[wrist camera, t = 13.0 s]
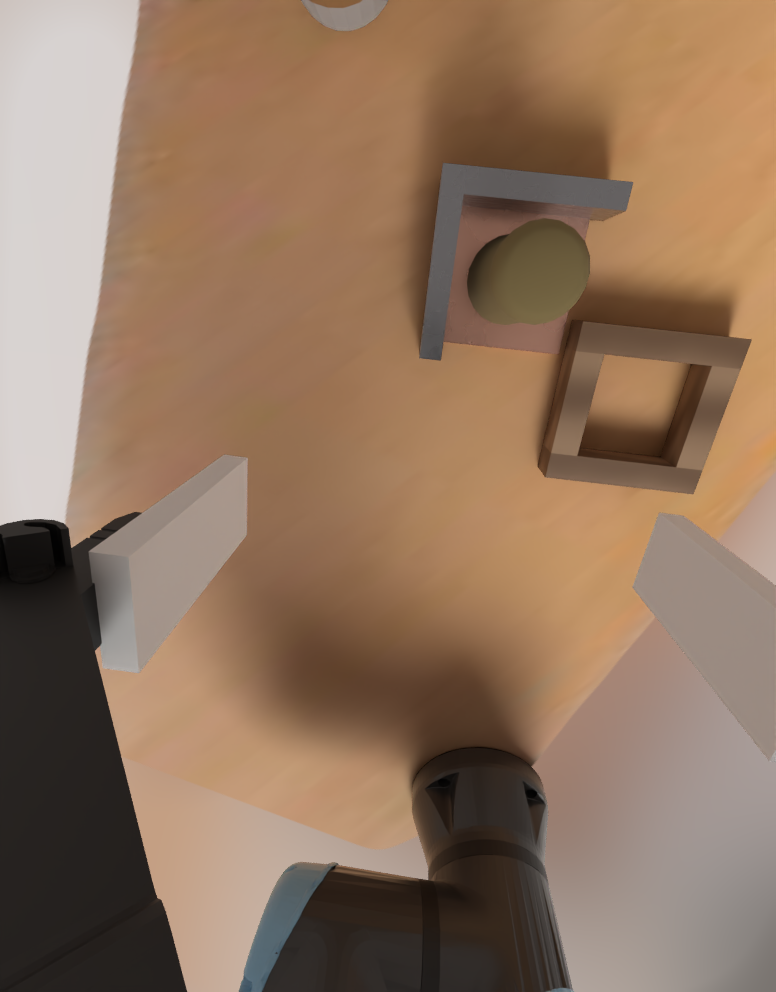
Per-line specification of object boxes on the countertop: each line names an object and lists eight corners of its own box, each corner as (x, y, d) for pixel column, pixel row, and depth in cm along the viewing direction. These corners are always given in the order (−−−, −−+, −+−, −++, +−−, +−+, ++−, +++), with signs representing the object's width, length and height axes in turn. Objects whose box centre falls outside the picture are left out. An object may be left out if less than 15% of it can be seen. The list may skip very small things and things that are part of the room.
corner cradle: (567, 368, 37) (583, 376, 33) (419, 352, 37) (419, 358, 33) (608, 196, 32) (633, 182, 28) (440, 178, 32) (443, 162, 29)
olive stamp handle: (503, 214, 33) (541, 174, 22) (569, 269, 34) (634, 255, 24) (449, 292, 35) (462, 287, 25) (513, 341, 36) (550, 357, 26)
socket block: (676, 482, 39) (693, 494, 37) (537, 466, 40) (545, 477, 37) (729, 336, 35) (751, 339, 33) (572, 320, 35) (583, 321, 33)
